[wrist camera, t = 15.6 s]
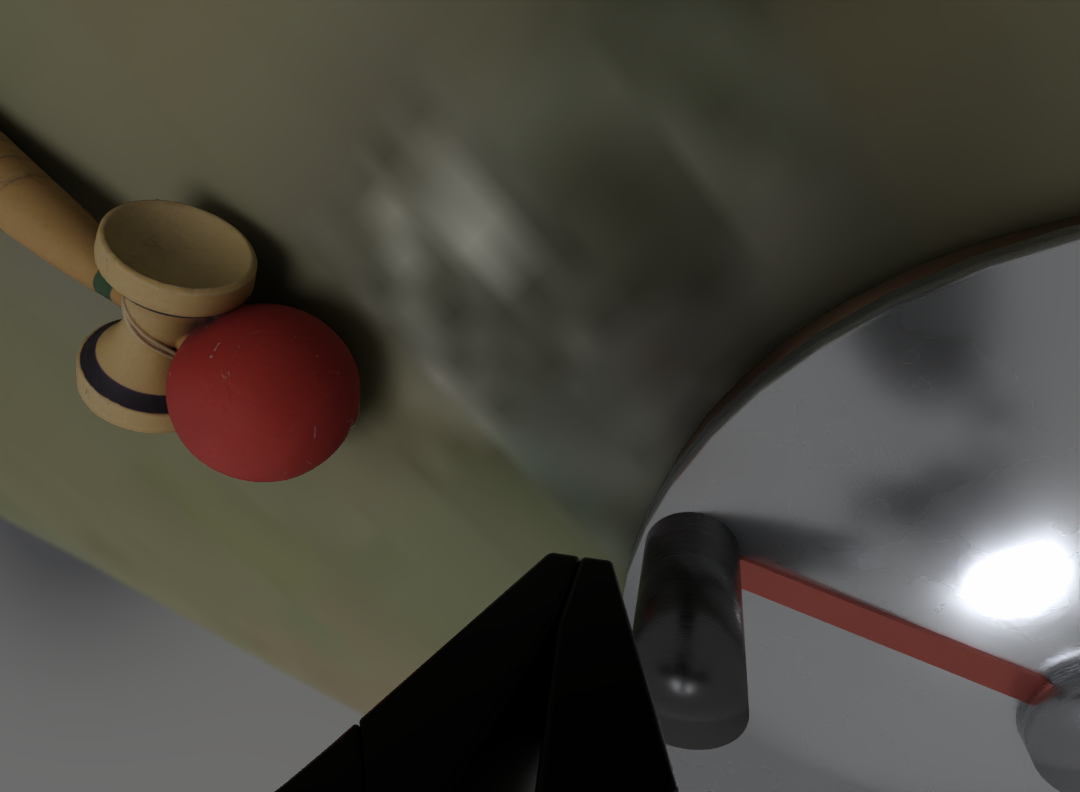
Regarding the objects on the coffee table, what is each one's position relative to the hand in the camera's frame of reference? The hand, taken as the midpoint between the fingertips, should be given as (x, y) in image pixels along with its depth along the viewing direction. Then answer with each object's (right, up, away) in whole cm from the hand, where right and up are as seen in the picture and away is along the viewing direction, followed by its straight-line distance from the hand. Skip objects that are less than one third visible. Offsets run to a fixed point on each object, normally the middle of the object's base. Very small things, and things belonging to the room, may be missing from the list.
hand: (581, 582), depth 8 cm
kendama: (-14, +7, +16) cm, 22 cm away
